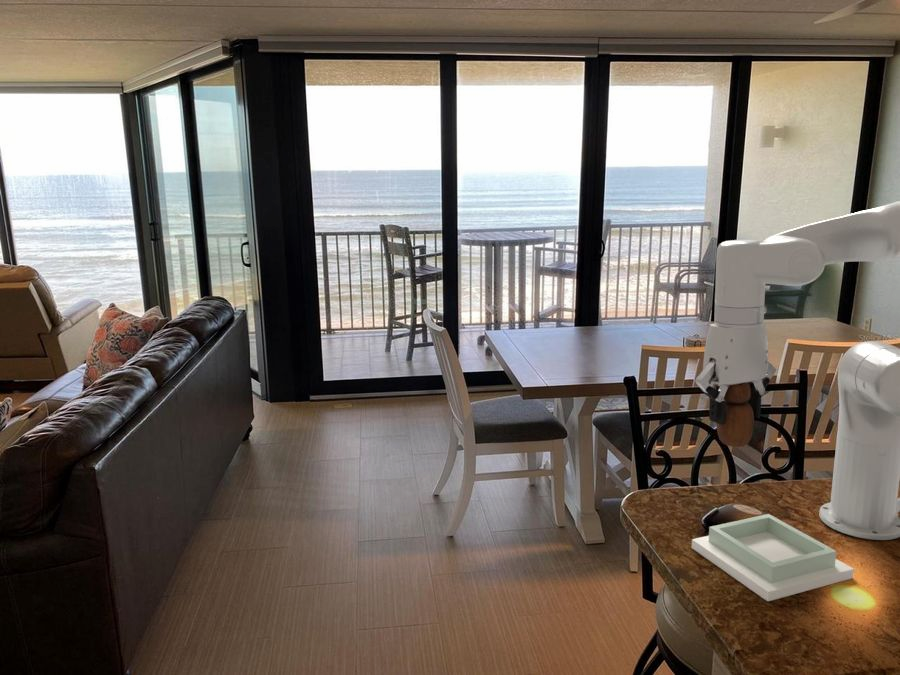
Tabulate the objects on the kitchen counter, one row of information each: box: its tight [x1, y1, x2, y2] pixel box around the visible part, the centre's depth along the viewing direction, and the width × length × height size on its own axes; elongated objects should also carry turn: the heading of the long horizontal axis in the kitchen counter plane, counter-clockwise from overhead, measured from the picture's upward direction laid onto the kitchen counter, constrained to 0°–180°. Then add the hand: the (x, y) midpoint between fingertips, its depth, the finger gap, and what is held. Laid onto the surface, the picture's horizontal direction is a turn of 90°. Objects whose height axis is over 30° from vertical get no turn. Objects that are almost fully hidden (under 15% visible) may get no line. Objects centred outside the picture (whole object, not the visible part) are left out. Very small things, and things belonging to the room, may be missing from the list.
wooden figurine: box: [715, 382, 755, 448], centre depth 115 cm, size 7×6×15 cm
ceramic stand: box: [691, 513, 855, 602], centre depth 104 cm, size 16×16×4 cm
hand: (734, 418), depth 115 cm, fingers closed on wooden figurine, 6 cm apart
